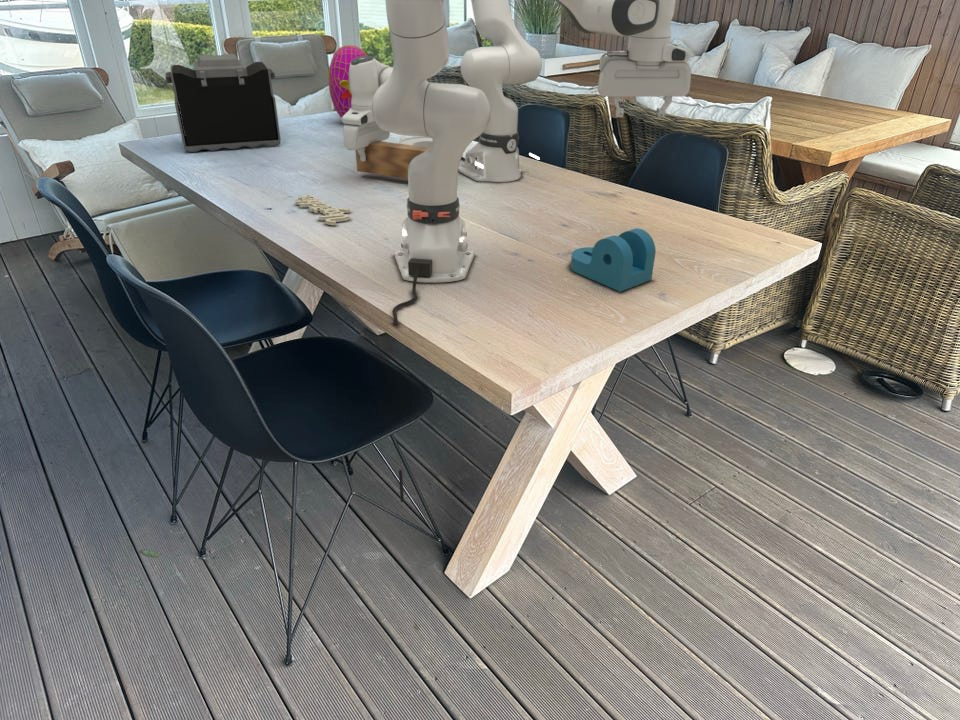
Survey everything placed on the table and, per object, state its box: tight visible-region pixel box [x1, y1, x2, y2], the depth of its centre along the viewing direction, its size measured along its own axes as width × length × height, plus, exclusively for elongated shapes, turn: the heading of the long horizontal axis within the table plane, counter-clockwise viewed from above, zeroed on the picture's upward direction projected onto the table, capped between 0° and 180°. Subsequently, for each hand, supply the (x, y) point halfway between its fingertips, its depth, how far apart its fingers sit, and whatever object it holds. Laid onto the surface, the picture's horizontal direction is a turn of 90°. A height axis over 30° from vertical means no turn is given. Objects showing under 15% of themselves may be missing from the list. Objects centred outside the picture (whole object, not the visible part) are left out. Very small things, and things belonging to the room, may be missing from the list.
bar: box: [354, 140, 432, 180], centre depth 216 cm, size 27×5×9 cm, turn 63°
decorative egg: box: [328, 44, 368, 119], centre depth 286 cm, size 19×19×30 cm
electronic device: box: [164, 53, 282, 153], centre depth 252 cm, size 37×22×30 cm, turn 111°
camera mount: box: [570, 227, 656, 293], centre depth 154 cm, size 18×10×10 cm, turn 39°
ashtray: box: [395, 136, 433, 148], centre depth 246 cm, size 23×23×4 cm
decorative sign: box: [295, 194, 351, 226], centre depth 192 cm, size 26×1×10 cm
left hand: (639, 117), depth 156 cm, fingers open, 8 cm apart
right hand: (369, 158), depth 220 cm, fingers closed on bar, 5 cm apart
